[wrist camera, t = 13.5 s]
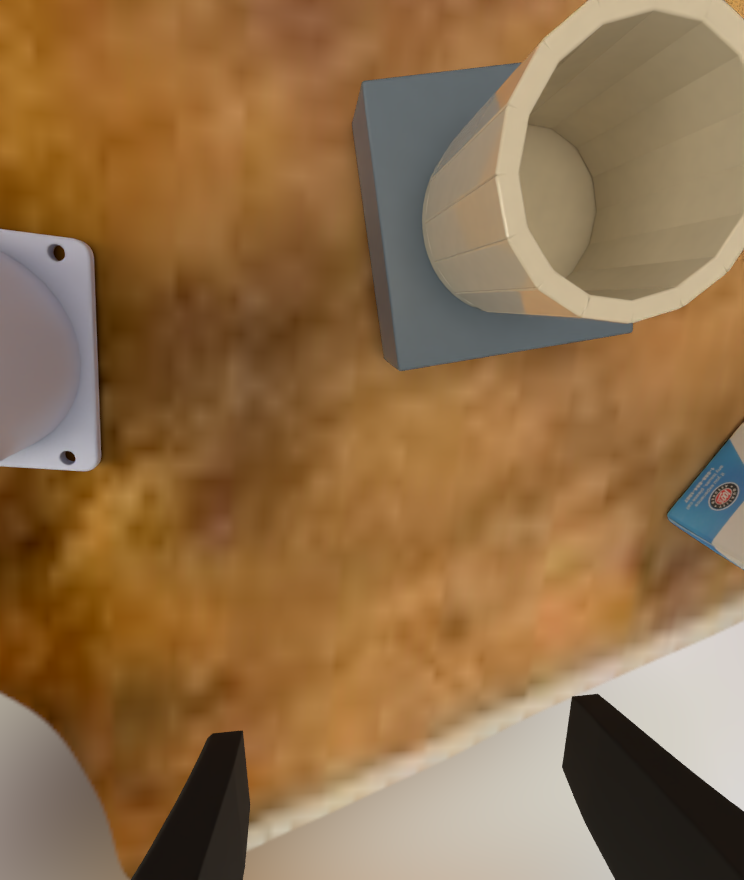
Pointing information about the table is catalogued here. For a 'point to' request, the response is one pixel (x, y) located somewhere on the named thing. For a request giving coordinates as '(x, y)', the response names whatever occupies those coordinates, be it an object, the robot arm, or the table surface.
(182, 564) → the table surface
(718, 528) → the ink box
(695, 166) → the cup
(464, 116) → the riser block
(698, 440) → the table surface
